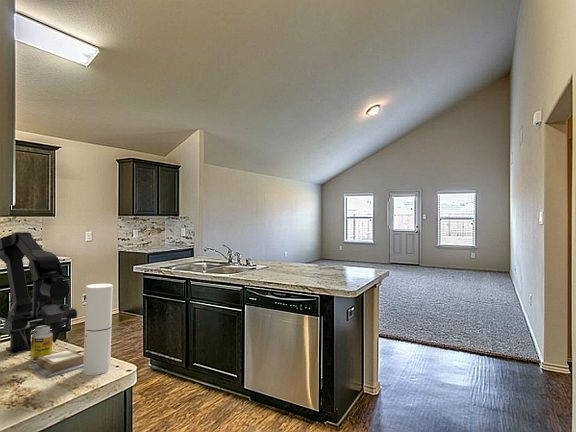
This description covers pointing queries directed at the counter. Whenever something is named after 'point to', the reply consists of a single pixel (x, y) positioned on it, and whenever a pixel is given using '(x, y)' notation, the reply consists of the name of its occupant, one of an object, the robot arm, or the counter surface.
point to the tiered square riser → (58, 363)
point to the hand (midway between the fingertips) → (41, 345)
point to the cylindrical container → (98, 329)
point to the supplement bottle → (41, 342)
